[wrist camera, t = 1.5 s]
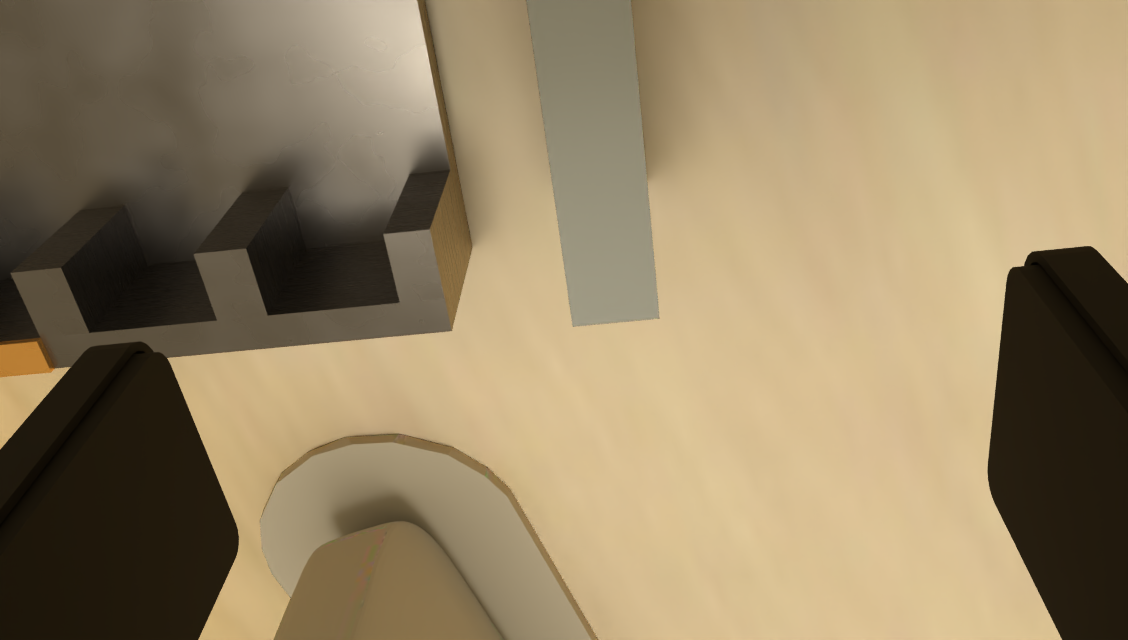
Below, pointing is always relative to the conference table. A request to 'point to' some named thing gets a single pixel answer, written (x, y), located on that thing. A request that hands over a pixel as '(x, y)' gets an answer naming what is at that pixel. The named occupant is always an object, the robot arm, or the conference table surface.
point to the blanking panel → (596, 156)
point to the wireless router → (409, 549)
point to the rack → (222, 177)
